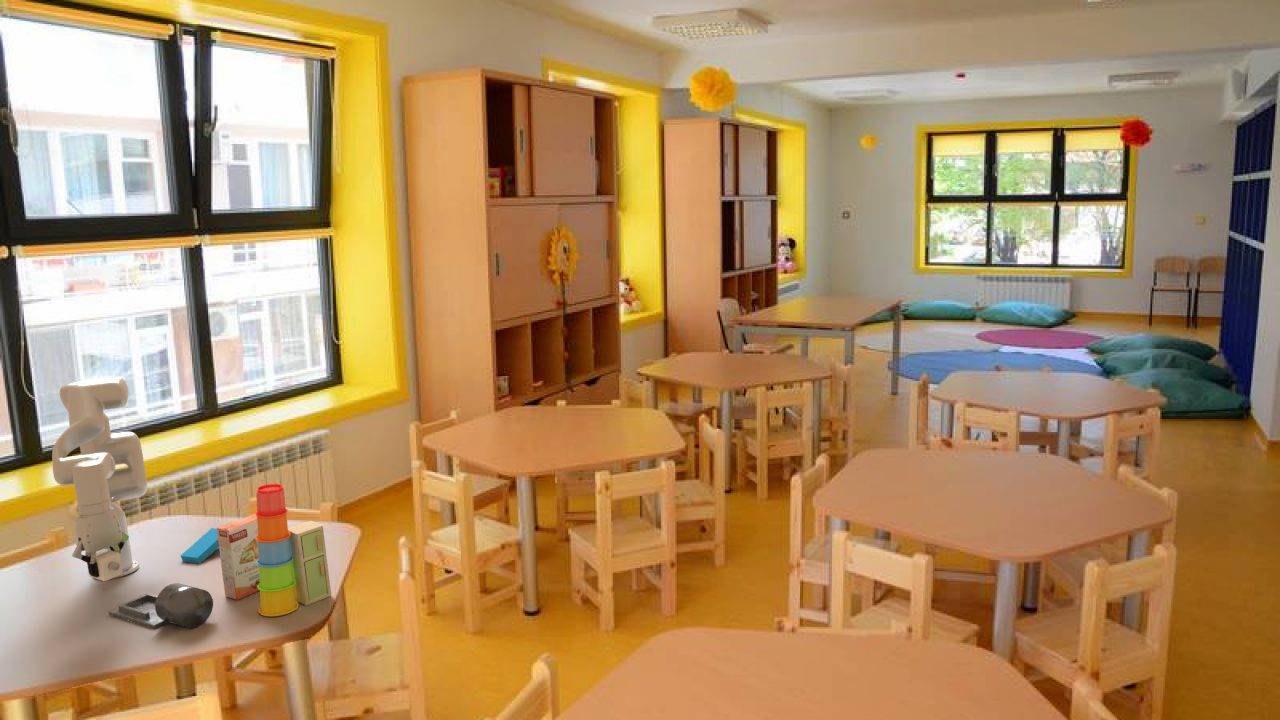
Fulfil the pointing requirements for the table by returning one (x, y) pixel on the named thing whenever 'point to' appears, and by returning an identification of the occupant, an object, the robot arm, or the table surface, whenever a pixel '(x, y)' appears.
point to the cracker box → (239, 557)
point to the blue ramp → (202, 547)
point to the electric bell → (168, 607)
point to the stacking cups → (274, 553)
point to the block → (108, 564)
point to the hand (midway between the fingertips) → (105, 571)
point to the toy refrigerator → (309, 562)
